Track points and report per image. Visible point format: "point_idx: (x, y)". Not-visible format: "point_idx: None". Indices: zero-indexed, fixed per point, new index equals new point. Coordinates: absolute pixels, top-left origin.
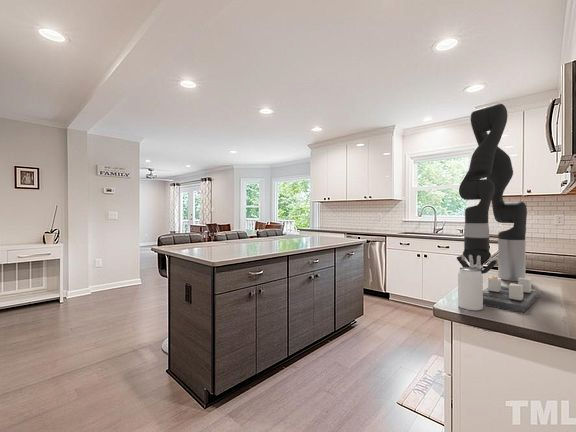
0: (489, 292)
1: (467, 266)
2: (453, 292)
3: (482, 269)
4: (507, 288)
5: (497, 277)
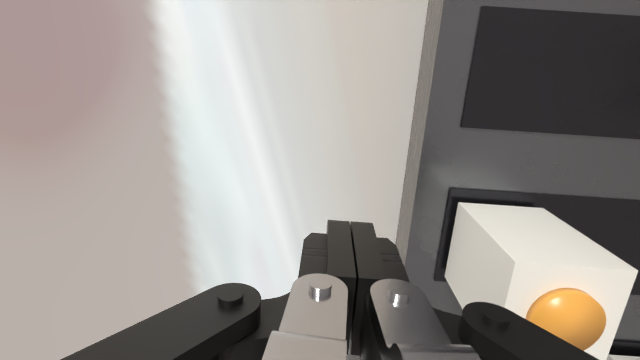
0: (454, 303)
1: (190, 344)
2: (200, 276)
3: (441, 329)
4: (598, 44)
5: (601, 325)
